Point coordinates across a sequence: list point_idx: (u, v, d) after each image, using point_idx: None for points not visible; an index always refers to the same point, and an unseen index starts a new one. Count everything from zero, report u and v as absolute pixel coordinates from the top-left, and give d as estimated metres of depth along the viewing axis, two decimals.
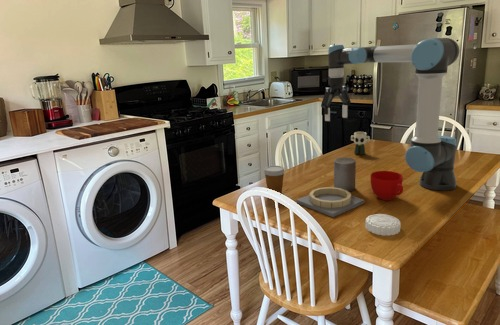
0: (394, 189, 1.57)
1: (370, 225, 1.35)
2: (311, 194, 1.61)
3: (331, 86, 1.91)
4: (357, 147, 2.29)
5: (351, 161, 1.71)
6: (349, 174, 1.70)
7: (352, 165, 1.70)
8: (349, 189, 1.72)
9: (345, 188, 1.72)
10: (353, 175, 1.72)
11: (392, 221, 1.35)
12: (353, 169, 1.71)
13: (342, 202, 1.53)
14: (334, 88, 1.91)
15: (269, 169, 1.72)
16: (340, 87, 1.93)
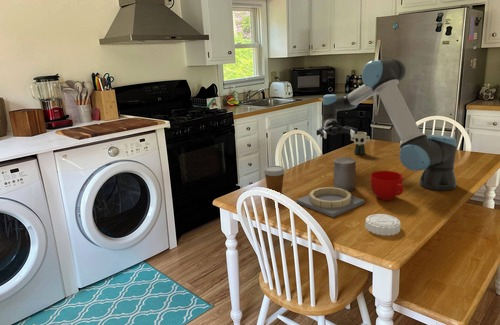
0: (394, 189, 1.57)
1: (370, 225, 1.35)
2: (311, 194, 1.61)
3: None
4: (357, 147, 2.29)
5: (351, 161, 1.71)
6: (349, 174, 1.70)
7: (352, 165, 1.70)
8: (349, 189, 1.72)
9: (345, 188, 1.72)
10: (353, 175, 1.72)
11: (392, 221, 1.35)
12: (353, 169, 1.71)
13: (342, 202, 1.53)
14: (329, 126, 1.99)
15: (269, 169, 1.72)
16: None
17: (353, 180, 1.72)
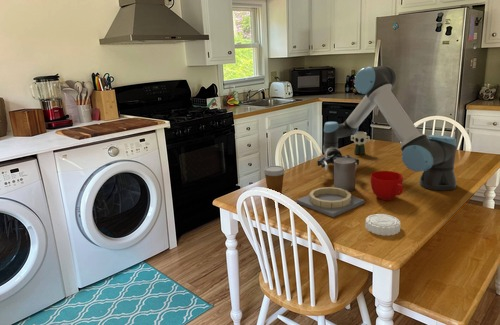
0: (394, 189, 1.57)
1: (370, 225, 1.35)
2: (311, 194, 1.61)
3: (327, 157, 1.97)
4: (357, 147, 2.29)
5: (351, 161, 1.71)
6: (349, 174, 1.70)
7: (352, 165, 1.70)
8: (349, 189, 1.72)
9: (345, 188, 1.72)
10: (353, 175, 1.72)
11: (392, 221, 1.35)
12: (353, 169, 1.71)
13: (342, 202, 1.53)
14: (330, 156, 1.96)
15: (269, 169, 1.72)
16: None
17: (353, 180, 1.72)
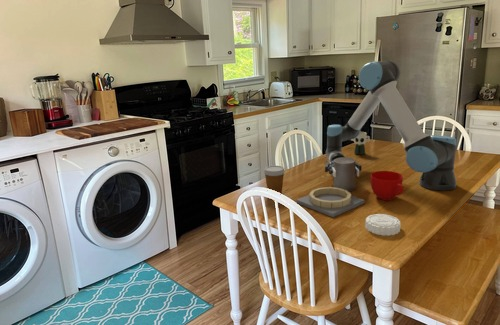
0: (394, 189, 1.57)
1: (370, 225, 1.35)
2: (311, 194, 1.61)
3: None
4: (357, 147, 2.29)
5: (351, 161, 1.71)
6: (349, 174, 1.70)
7: (352, 165, 1.70)
8: (348, 189, 1.72)
9: (345, 188, 1.72)
10: (353, 175, 1.72)
11: (392, 221, 1.35)
12: (353, 169, 1.71)
13: (342, 202, 1.53)
14: None
15: (269, 169, 1.72)
16: None
17: (353, 180, 1.72)
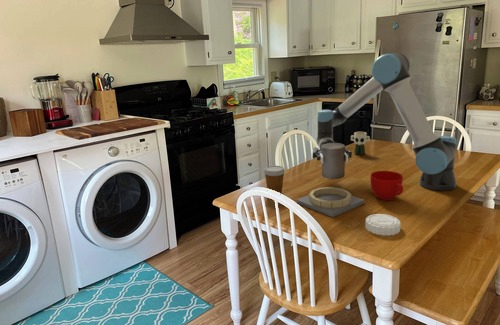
0: (394, 189, 1.57)
1: (370, 225, 1.35)
2: (311, 194, 1.61)
3: None
4: (357, 147, 2.29)
5: (340, 146, 1.60)
6: (337, 160, 1.59)
7: (341, 150, 1.58)
8: (337, 176, 1.61)
9: (333, 175, 1.61)
10: (342, 161, 1.60)
11: (392, 221, 1.35)
12: (342, 155, 1.60)
13: (342, 202, 1.53)
14: None
15: (269, 169, 1.72)
16: None
17: (342, 167, 1.61)
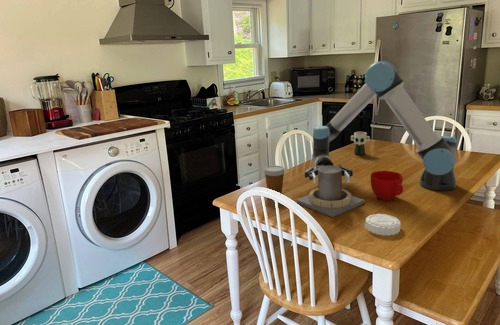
0: (394, 189, 1.57)
1: (370, 225, 1.35)
2: (311, 194, 1.61)
3: None
4: (357, 147, 2.29)
5: (337, 170, 1.55)
6: (334, 185, 1.54)
7: (337, 174, 1.54)
8: None
9: (330, 200, 1.56)
10: (339, 185, 1.56)
11: (392, 221, 1.35)
12: (339, 179, 1.55)
13: (342, 202, 1.53)
14: (319, 166, 1.70)
15: (269, 169, 1.72)
16: (330, 165, 1.70)
17: (339, 191, 1.56)
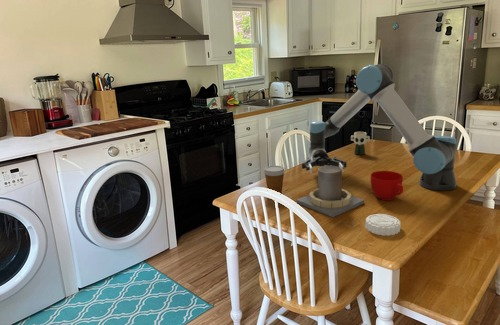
0: (394, 189, 1.57)
1: (370, 225, 1.35)
2: (311, 194, 1.61)
3: (313, 159, 1.84)
4: (357, 147, 2.29)
5: (337, 170, 1.55)
6: (334, 185, 1.54)
7: (337, 174, 1.54)
8: None
9: (330, 200, 1.56)
10: (339, 185, 1.56)
11: (392, 221, 1.35)
12: (339, 179, 1.55)
13: (342, 202, 1.53)
14: (316, 158, 1.82)
15: (269, 169, 1.72)
16: None
17: (339, 191, 1.56)
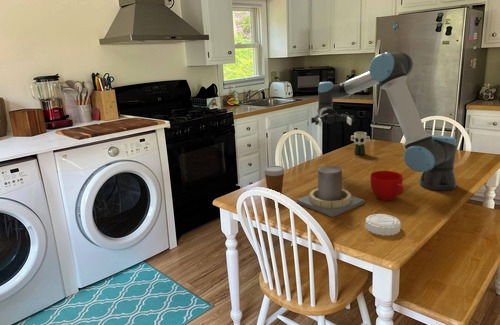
0: (394, 189, 1.57)
1: (370, 225, 1.35)
2: (311, 194, 1.61)
3: None
4: (357, 147, 2.29)
5: (337, 170, 1.55)
6: (334, 185, 1.54)
7: (337, 174, 1.54)
8: None
9: (330, 200, 1.56)
10: (339, 185, 1.56)
11: (392, 221, 1.35)
12: (339, 179, 1.55)
13: (342, 202, 1.53)
14: None
15: (269, 169, 1.72)
16: None
17: (339, 191, 1.56)
